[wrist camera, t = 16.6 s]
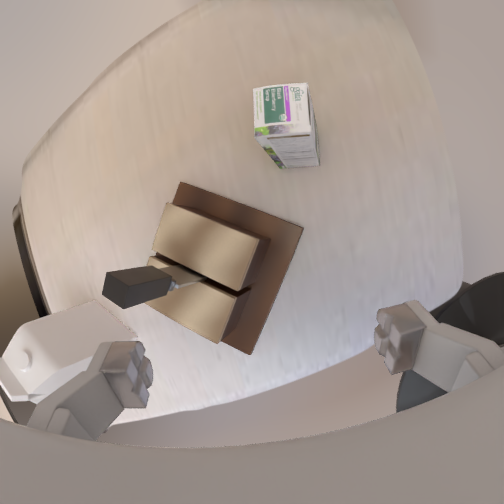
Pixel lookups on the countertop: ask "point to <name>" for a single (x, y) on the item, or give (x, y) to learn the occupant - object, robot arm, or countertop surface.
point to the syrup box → (286, 124)
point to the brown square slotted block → (222, 264)
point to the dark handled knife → (146, 283)
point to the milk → (56, 350)
